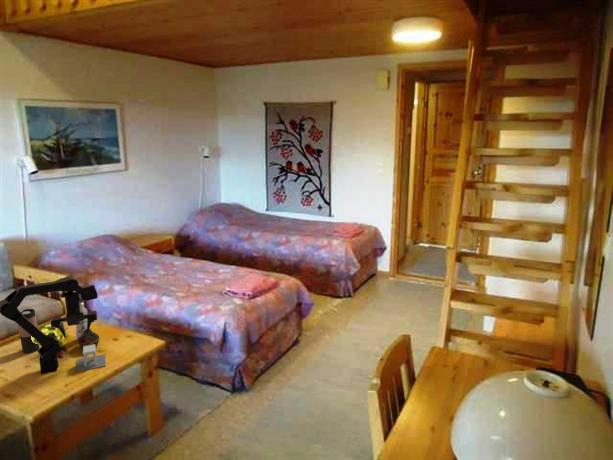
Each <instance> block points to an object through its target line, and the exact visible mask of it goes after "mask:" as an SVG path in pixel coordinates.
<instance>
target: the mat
mask: <svg viewBox="0 0 613 460" xmlns="http://www.w3.org/2000/svg"><path fill="white" fill-rule="evenodd" d="M96 361H97V365H94V357H93V356H87V367H85V366H84V358H83V357H82V358H78V359H76V366H75V372H76V373H80V372H85V371H89V370H90V371H91V370H93V369H94V370H95V369H98V368H99V369H100V368H105V367H107V366H106V354H105V353H103V354H98V355H97V359H96Z"/></svg>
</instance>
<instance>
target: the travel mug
mask: <svg viewBox="0 0 613 460" xmlns="http://www.w3.org/2000/svg"><path fill="white" fill-rule="evenodd" d="M20 313H21V314H22V315H23V316H24V317H26V318H27V319H28V320H29V321H30V322H31V323H33V324H34V325H35V326H36V327H37V328H38V322H37V317H36V310H35V309H33V308H25V309H23V310H22V311H20ZM17 325H18V324H17ZM18 334H19V338H20V343H21V348H22V353H24V354H33V353H35V352H38V350H39V349H40V348H41V347H40V346H41V345H40V344H39V345H40V346H39V345H38V344H35V343H33V342H32V340H31V335H30V334H29V333H28V332H27V331H25V330H24V329H23V328H22V327H21V326H19V325H18Z"/></svg>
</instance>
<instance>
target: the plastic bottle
mask: <svg viewBox="0 0 613 460" xmlns="http://www.w3.org/2000/svg"><path fill="white" fill-rule="evenodd" d="M79 302H80V310H81V313H82V312H83V313H84V315H86V314H87V312H89V311H88V309H87V308H86V307H85V304H84V303H85V302H84V301H79ZM85 329H87V319H84V320H82V321H80V324H78V325H75V339H76V340H77V341H78V338H79V337H80V336H81V335H82V334H84V330H85Z"/></svg>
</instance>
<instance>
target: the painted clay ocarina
mask: <svg viewBox="0 0 613 460" xmlns="http://www.w3.org/2000/svg"><path fill="white" fill-rule="evenodd" d="M99 342H100V335H98V333H96V332H94V331H93V330H92V328H90V329H89V333H88V334H87V329H85V330H84V334H82V335H81V336H80V337H79V338H78V340H77V344H78V345H79V347H80V348H81V349H82V350H83V346H89V345H94V344H95V346H96V348H97V347H98V345H99Z"/></svg>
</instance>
